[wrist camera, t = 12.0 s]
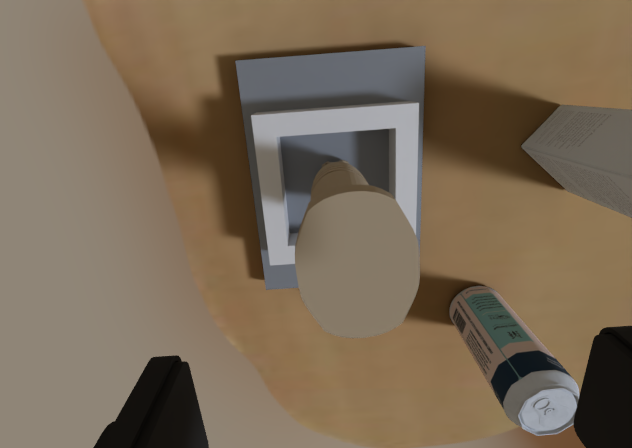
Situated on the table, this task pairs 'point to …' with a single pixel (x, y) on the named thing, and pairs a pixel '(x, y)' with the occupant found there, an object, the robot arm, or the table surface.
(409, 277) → the handle
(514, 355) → the beer can
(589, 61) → the table surface
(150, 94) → the table surface
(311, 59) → the socket board
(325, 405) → the table surface
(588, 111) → the skincare box
